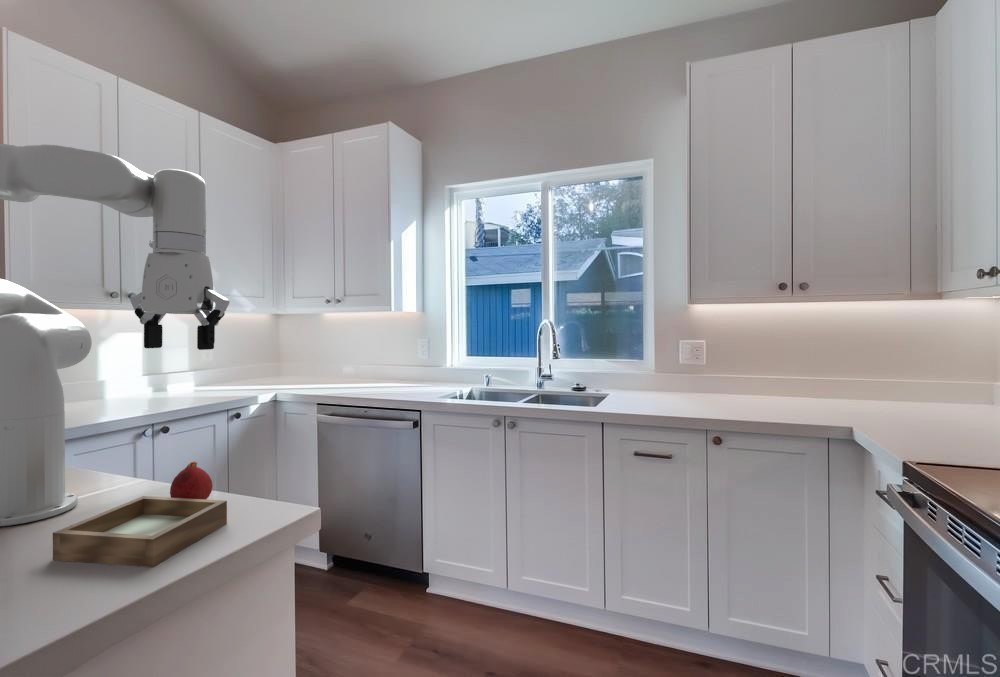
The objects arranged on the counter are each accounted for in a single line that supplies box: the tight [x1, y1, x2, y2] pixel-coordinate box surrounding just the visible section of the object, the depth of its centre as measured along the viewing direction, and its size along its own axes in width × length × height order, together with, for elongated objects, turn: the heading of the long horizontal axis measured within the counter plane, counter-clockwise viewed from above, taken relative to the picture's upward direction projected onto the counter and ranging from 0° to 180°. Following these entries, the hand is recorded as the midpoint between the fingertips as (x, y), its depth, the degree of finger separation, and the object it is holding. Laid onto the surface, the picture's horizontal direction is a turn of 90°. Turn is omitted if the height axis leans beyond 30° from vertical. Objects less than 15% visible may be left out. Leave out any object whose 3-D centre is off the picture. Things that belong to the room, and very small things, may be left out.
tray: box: [52, 495, 228, 568], centre depth 70 cm, size 14×14×4 cm
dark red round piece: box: [169, 460, 213, 500], centre depth 81 cm, size 6×6×8 cm
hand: (179, 348), depth 85 cm, fingers open, 9 cm apart
